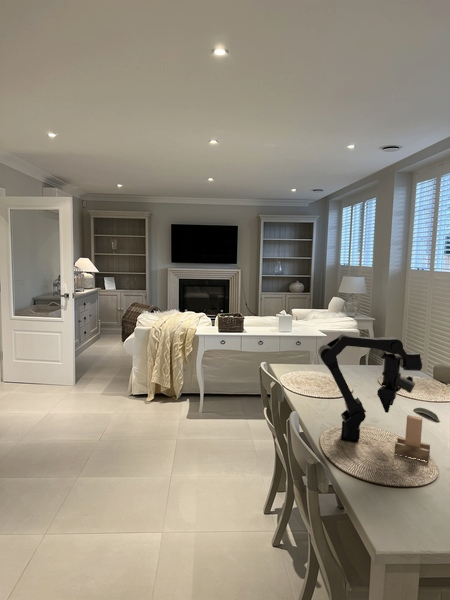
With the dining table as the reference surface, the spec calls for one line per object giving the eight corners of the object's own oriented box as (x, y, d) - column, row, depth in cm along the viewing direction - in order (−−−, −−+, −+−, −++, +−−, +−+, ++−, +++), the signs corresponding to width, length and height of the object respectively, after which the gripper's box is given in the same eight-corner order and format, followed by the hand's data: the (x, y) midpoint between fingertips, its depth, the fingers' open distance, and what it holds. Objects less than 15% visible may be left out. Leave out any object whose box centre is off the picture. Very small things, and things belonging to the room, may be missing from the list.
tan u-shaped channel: (394, 454, 151) (394, 444, 151) (397, 446, 158) (398, 436, 158) (427, 462, 146) (428, 452, 145) (429, 453, 153) (430, 443, 152)
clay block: (404, 451, 152) (406, 417, 151) (405, 448, 154) (407, 415, 153) (419, 454, 150) (422, 420, 148) (420, 452, 152) (422, 417, 150)
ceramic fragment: (412, 411, 195) (413, 403, 195) (420, 410, 197) (421, 402, 197) (436, 423, 182) (437, 415, 182) (445, 422, 184) (446, 414, 184)
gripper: (411, 379, 148) (408, 421, 149) (417, 367, 164) (414, 405, 165) (378, 374, 153) (375, 414, 155) (387, 363, 169) (384, 400, 171)
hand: (388, 408), depth 161 cm, fingers open, 9 cm apart
